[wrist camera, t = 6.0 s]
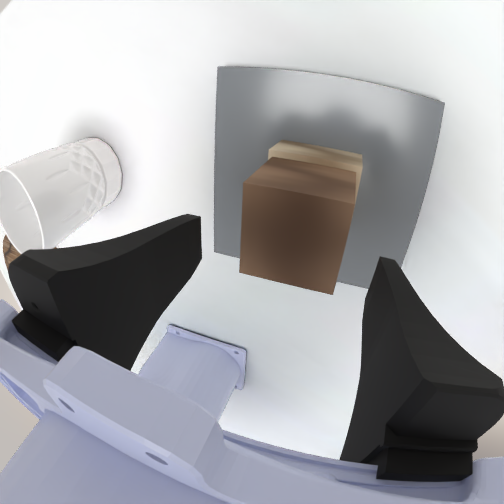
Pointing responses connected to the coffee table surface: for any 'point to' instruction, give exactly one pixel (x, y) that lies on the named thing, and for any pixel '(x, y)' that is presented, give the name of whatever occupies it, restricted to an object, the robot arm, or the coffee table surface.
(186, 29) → the coffee table surface
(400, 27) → the coffee table surface
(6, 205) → the white cup
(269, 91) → the base slab
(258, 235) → the walnut block
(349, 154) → the oak block
